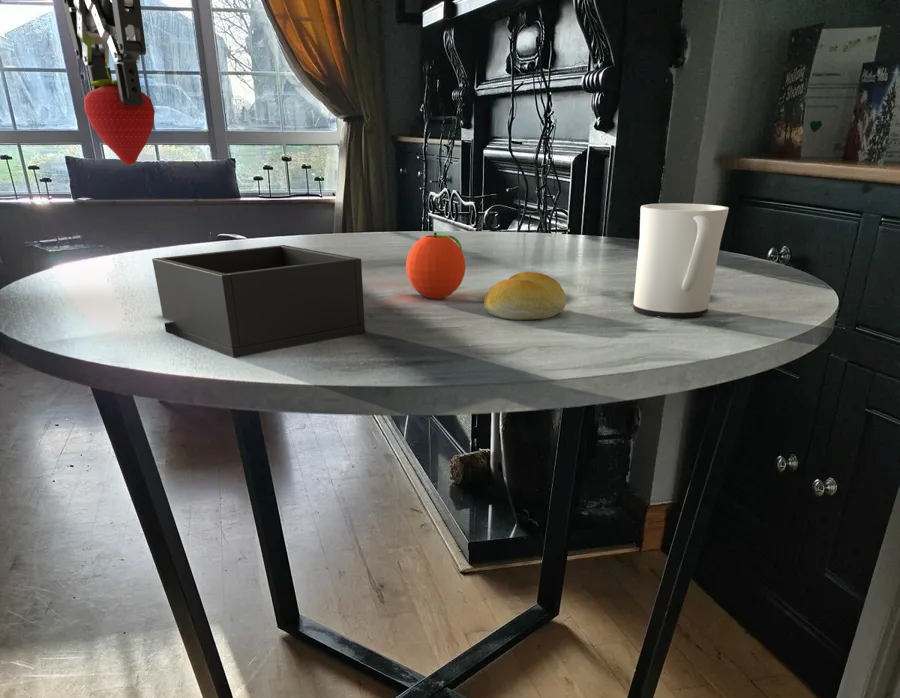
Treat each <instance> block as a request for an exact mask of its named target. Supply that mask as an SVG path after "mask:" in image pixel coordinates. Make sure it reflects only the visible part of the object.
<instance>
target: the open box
mask: <svg viewBox="0 0 900 698" xmlns="http://www.w3.org/2000/svg"><path fill="white" fill-rule="evenodd" d="M151 260H152V265H153V272H154V277H155V281H156V282H155V283H156V287H157V292H158V298H159V305H160V308H161V314H162V318H163V319H165V320H168V321H170V322H164V323H163V324H164V330H165V332H166V334H170V335H172V336H175V337H178V338H180V339H183V340H186V341H189V342H192V343H194V344H197V345H199V346H201V347H205V348H207V349H210V350H212V351H215V352H218V353H220V354H223V355H227V356H229V357H232V358H238V357H245V356H249V355H254V354H255V355H256V354H259V353H265V352H270V351H275V350H276V351H277V350H281V349H285V348H290V347H291V348H292V347H297V346H301V345H306V344H312V343H317V342H322V341H327V340H333V339H337V338H343V337H344V338H345V337H348V336H354V335H359V334H365V333H366V325H365V323H366V321H365V320H366V319H365V305H364V304H365V303H364V287H363V270H362V269H363V268H362V258H360V257H354V256H349V255H343V254H337V253H331V252H325V251H319V250H315V249H308V248H303V247H298V246H291V245H287V244H280V245H269V246H260V247H251V248H241V249H232V250H220V251H212V252H202V253H201V252H200V253H194V254H193V253H192V254H184V255H183V254H182V255H174V256H163V257H154V258H153V257H152V259H151Z"/></svg>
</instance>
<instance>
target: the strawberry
mask: <svg viewBox="0 0 900 698" xmlns="http://www.w3.org/2000/svg"><path fill="white" fill-rule="evenodd" d="M105 62H106V69H107V73H108V68H107V61H106V59H105ZM108 76H109V73H108ZM91 83H93V84H91ZM92 86H102V87H100V88H97V89H95V90H93V91H92V90H91V91H87V94H86V95H85V97H84V104H83V105H84V113H85V115H86V117H87V119H88V121H89V123H90V125H91V127H92V129H93V130H94V131H95V132H96V134H97V135H98V137H99V138H100V139H101V140H102V142H103V143H104V144H105V145H106V146H107V147H108V148H109V149H110V151H112V152H113V153H114V154H115V155H116V157H118V159H119V160H120V161H121V162H122V163H123V164H125V165H127V166H132V165H134V164H135V163H136V162H137V160H138V158H139V156H140V155H141V153H142V151H143V149H144V148H145V147H146V145H147V142H148V140H149V138H150V136H151V134H152V131H153V129H154V122H155V115H156V114H155V113H156V111H155V108H154V104H153V101H152V99H151V98H150V97H149V96H148V95H147V94H146V92H143V91H141V92H142V98H143V104H142V105H141V106H125V105H123V104H122V102H121V100H120V94H119V89H118V83H117V79H113V80H112V81H111V79H110V76H109V79H104V80H97V81H92V82H91V81H90V84H89V85H88V87H92Z"/></svg>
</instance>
